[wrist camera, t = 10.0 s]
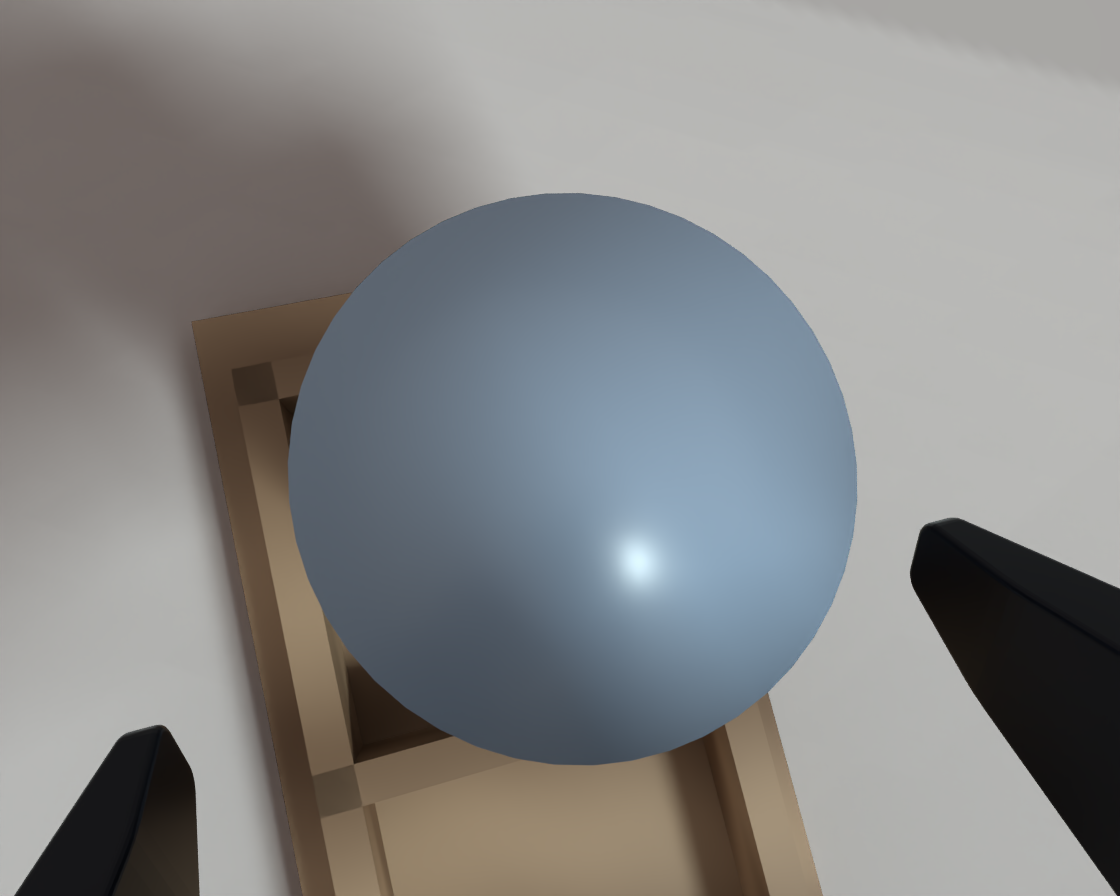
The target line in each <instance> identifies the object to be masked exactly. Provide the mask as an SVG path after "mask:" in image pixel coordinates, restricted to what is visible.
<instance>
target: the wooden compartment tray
mask: <svg viewBox="0 0 1120 896" xmlns="http://www.w3.org/2000/svg"><path fill="white" fill-rule="evenodd" d="M352 293H353V292H352ZM352 293H347V294H341V295H336V296H330V297H325V298H319V299H314V300H308V301H303V302H297V303H292V304H286V305H281V306H275V307H270V308H264V309H259V310H253V311H248V312H242V313H236V314H231V315H225V316H220V317H214V318H209V319H203V320H198V321H192V327H193V332H194V338H195V343H196V348H197V353H198V358H199V363H200V368H201V374H202V379H203V384H204V389H205V394H206V399H207V405H208V410H209V415H210V420H211V425H212V430H213V436H214V441H215V446H216V451H217V456H218V461H219V466H220V472H221V477H222V482H223V487H224V492H225V497H226V503H227V508H228V513H229V518H230V523H231V528H232V534H233V539H234V544H235V549H236V554H237V559H238V564H239V570H240V575H241V580H242V585H243V590H244V595H245V601H246V606H247V611H248V616H249V621H250V626H251V632H252V637H253V642H254V647H255V652H256V657H257V662H258V668H259V673H260V678H261V683H262V688H263V693H264V699H265V704H266V709H267V714H268V719H269V724H270V729H271V735H272V740H273V745H274V750H275V755H276V760H277V766H278V771H279V776H280V781H281V786H282V791H283V797H284V802H285V807H286V812H287V817H288V822H289V827H290V833H291V838H292V843H293V848H294V853H295V858H296V864H297V869H298V874H299V879H300V884H301V889H302V895H303V896H823V894H822V891H821V887H820V883H819V880H818V876H817V872H816V869H815V865H814V861H813V857H812V854H811V850H810V846H809V843H808V839H807V835H806V832H805V828H804V824H803V821H802V817H801V813H800V810H799V806H798V802H797V798H796V795H795V791H794V787H793V784H792V780H791V776H790V773H789V769H788V765H787V762H786V758H785V754H784V751H783V747H782V743H781V739H780V736H779V732H778V728H777V725H776V721H775V717H774V714H773V710H772V706H771V703H770V699H769V695H768V693H767V694H765V695H764V696H763V697H762V698H760V699H759V700H758V701H757V702H755V703H754V704H753V705H752V706H750V707H749V708H748V709H746V710H745V711H744V712H743V713H741V714H740V715H739V716H738V717H736V718H734V719H733V720H731V721H729V722H728V723H726V724H724V725H723V726H721V727H719V728H718V729H716V730H714V731H713V732H711V733H709V734H707V735H706V736H704V737H701V738H699V739H697V740H694V741H692V742H689V743H687V744H685V745H682V746H680V747H678V748H675V749H673V750H670V751H667V752H663V753H660V754H656V755H652V756H648V757H644V758H641V759H637V760H633V761H626V762H618V763H609V764H601V765H553V764H547V763H541V762H534V761H528V760H522V759H516V758H512V757H509V756H505V755H502V754H499V753H496V752H492V751H489V750H486V749H483V748H479V747H476V746H474V745H472V744H470V743H468V742H465V741H463V740H461V739H459V738H457V737H455V736H453V735H450V734H448V733H446V732H444V731H442V730H440V729H438V728H437V727H435V726H433V725H432V724H430V723H429V722H427V721H426V720H424V719H423V718H421V717H420V716H418V715H417V714H415V713H413V712H412V711H410V710H409V709H407V708H406V707H405V706H403V705H402V704H401V703H400V702H399V701H398V700H396V699H395V698H394V697H393V696H392V695H391V694H389V693H388V692H387V691H386V690H385V689H384V688H383V687H381V686H380V685H379V684H378V683H377V682H376V681H375V680H374V679H373V678H372V677H371V676H370V675H369V674H368V672H367V671H366V670H365V669H364V668H363V667H362V666H361V664H360V663H359V662H358V661H357V660H356V659H355V658H354V657H353V655H352V654H351V653H350V652H349V651H348V650H347V648H346V646H345V645H344V643H343V642H342V640H341V639H340V637H339V636H338V634H337V633H336V631H335V630H334V628H333V627H332V625H331V624H330V622H329V621H328V619H327V618H326V616H325V614H324V612H323V610H322V608H321V606H320V603H319V601H318V599H317V597H316V595H315V593H314V591H313V589H312V587H311V585H310V583H309V580H308V578H307V574H306V571H305V568H304V565H303V562H302V559H301V556H300V552H299V549H298V546H297V543H296V539H295V533H294V527H293V521H292V515H291V510H290V504H289V481H288V456H289V447H290V437H291V428H292V421H293V417H294V413H295V409H296V405H297V401H298V397H299V393H300V389H301V385H302V383H303V380H304V378H305V375H306V372H307V370H308V367H309V365H310V362H311V360H312V357H313V355H314V352H315V350H316V348H317V346H318V345H319V343H320V341H321V339H322V338H323V336H324V334H325V332H326V330H327V329H328V327H329V325H330V323H331V322H332V320H333V318H334V317H335V315H336V314H337V313H338V311H339V310H340V309H341V307H342V306H343V305H344V303H345V302H346V301H347V299H348V298H349V297H350V295H351V294H352Z"/></svg>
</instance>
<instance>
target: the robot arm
mask: <svg viewBox="0 0 1120 896" xmlns="http://www.w3.org/2000/svg"><path fill="white" fill-rule="evenodd" d="M910 578H911V583H912V586H913V588H914V590H915V592H916V594H917V596H918V598H919V599H920V601H921V603H922V605H923V606H924V608H925V610H926V612H927V614H928V615H929V617H930V619H931V621H932V622H933V624H934V626H935V628H936V629H937V631H938V633H939V635H940V636H941V638H942V640H943V642H944V643H945V645H946V647H947V649H948V650H949V652H950V654H951V656H952V657H953V659H954V661H955V663H956V664H957V666H958V668H959V670H960V671H961V673H962V675H963V677H964V678H965V680H966V682H967V683H968V685H969V687H970V688H971V690H972V691H973V693H974V695H975V696H976V698H977V699H978V700H979V702H980V703H981V705H982V706H983V708H984V709H985V711H986V712H987V714H988V715H989V716H990V718H991V719H992V721H993V722H994V723H995V725H996V726H997V728H998V729H999V730H1000V732H1001V733H1002V735H1003V736H1004V737H1005V739H1006V740H1007V742H1008V743H1009V744H1010V746H1011V747H1012V749H1013V750H1014V752H1015V753H1016V754H1017V756H1018V757H1019V759H1020V760H1021V761H1022V763H1023V764H1024V766H1025V767H1026V768H1027V770H1028V771H1029V773H1030V774H1031V775H1032V777H1033V778H1034V780H1035V781H1036V782H1037V784H1038V785H1039V787H1040V788H1041V789H1042V791H1043V792H1044V794H1045V795H1046V796H1047V798H1048V799H1049V801H1050V802H1051V803H1052V805H1053V806H1054V808H1055V809H1056V810H1057V812H1058V813H1059V815H1060V816H1061V818H1062V819H1063V820H1064V822H1065V823H1066V825H1067V826H1068V827H1069V829H1070V830H1071V832H1072V833H1073V834H1074V836H1075V837H1076V839H1077V840H1078V841H1079V843H1080V844H1081V846H1082V847H1083V848H1084V850H1085V851H1086V853H1087V854H1088V855H1089V857H1090V858H1091V860H1092V861H1093V862H1094V864H1095V865H1096V867H1097V868H1098V869H1099V871H1100V872H1101V874H1102V875H1103V876H1104V878H1105V879H1106V881H1107V882H1108V884H1109V885H1110V886H1111V888H1112V889H1113V891H1114V892H1115V893H1116V895H1117V896H1120V589H1119V588H1117V587H1115V586H1113V585H1110V584H1108V583H1106V582H1103V581H1101V580H1099V579H1097V578H1094V577H1092V576H1090V575H1088V574H1085V573H1083V572H1081V571H1078V570H1076V569H1074V568H1072V567H1069V566H1067V565H1065V564H1062V563H1060V562H1058V561H1056V560H1053V559H1051V558H1049V557H1047V556H1044V555H1042V554H1040V553H1037V552H1035V551H1033V550H1031V549H1028V548H1026V547H1024V546H1021V545H1019V544H1017V543H1015V542H1012V541H1010V540H1008V539H1006V538H1003V537H1001V536H999V535H996V534H994V533H992V532H990V531H987V530H985V529H983V528H980V527H978V526H976V525H974V524H971V523H969V522H967V521H965V520H962V519H959V518H947V519H943V520H939V521H935V522H931V523H928V524H926V525H924V526H923V528H922V529H921V530H920V533H919V537H918V541H917V544H916V548H915V552H914V556H913V560H912V564H911V569H910ZM14 896H200V895H199V869H198V844H197V819H196V793H195V782H194V777H193V773H192V770H191V768H190V766H189V764H188V762H187V760H186V759H185V757H184V755H183V753H182V752H181V750H180V748H179V747H178V745H177V743H176V741H175V740H174V738H173V736H172V735H171V733H170V731H169V730H168V729H167V728H166V727H165V726H163V725H155V726H151V727H147V728H143V729H139V730H136V731H132V732H128V733H126V734H124V735H123V736H121V737H120V738H119V739H118V740H117V742H116V743H115V744H114V746H113V747H112V749H111V750H110V752H109V753H108V755H107V756H106V758H105V759H104V761H103V762H102V764H101V765H100V767H99V768H98V770H97V771H96V773H95V775H94V776H93V778H92V779H91V781H90V782H89V784H88V785H87V787H86V788H85V790H84V791H83V793H82V794H81V796H80V797H79V799H78V800H77V802H76V803H75V805H74V806H73V808H72V809H71V811H70V812H69V814H68V815H67V817H66V818H65V820H64V821H63V823H62V824H61V826H60V827H59V829H58V830H57V832H56V833H55V835H54V836H53V838H52V839H51V841H50V842H49V844H48V845H47V847H46V849H45V850H44V852H43V853H42V855H41V856H40V858H39V859H38V861H37V862H36V864H35V865H34V867H33V868H32V870H31V871H30V873H29V874H28V876H27V877H26V879H25V880H24V882H23V883H22V885H21V886H20V888H19V889H18V891H17V892H16V894H15V895H14Z"/></svg>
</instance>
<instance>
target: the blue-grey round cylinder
mask: <svg viewBox="0 0 1120 896" xmlns="http://www.w3.org/2000/svg"><path fill="white" fill-rule="evenodd" d="M288 481H289V504H290V510H291V515H292V521H293V527H294V533H295V539H296V543H297V546H298V549H299V552H300V556H301V559H302V562H303V565H304V568H305V571H306V574H307V578H308V580H309V583H310V585H311V587H312V589H313V591H314V593H315V595H316V597H317V599H318V601H319V603H320V606H321V608H322V610H323V612H324V614H325V616H326V618H327V619H328V621H329V622H330V624H331V625H332V627H333V628H334V630H335V631H336V633H337V634H338V636H339V637H340V639H341V640H342V642H343V643H344V645H345V646H346V648H347V650H348V651H349V652H350V653H351V654H352V655H353V657H354V658H355V659H356V660H357V661H358V662H359V663H360V664H361V666H362V667H363V668H364V669H365V670H366V671H367V672H368V674H369V675H370V676H371V677H372V678H373V679H374V680H375V681H376V682H377V683H378V684H379V685H380V686H381V687H383V688H384V689H385V690H386V691H387V692H388V693H389V694H391V695H392V696H393V697H394V698H395V699H396V700H398V701H399V702H400V703H401V704H402V705H403V706H405V707H406V708H407V709H409V710H410V711H412V712H413V713H415V714H417V715H418V716H420V717H421V718H423V719H424V720H426V721H427V722H429V723H430V724H432V725H433V726H435V727H437V728H438V729H440V730H442V731H444V732H446V733H448V734H450V735H453V736H455V737H457V738H459V739H461V740H463V741H465V742H468V743H470V744H472V745H474V746H476V747H479V748H483V749H486V750H489V751H492V752H496V753H499V754H502V755H505V756H509V757H512V758H516V759H522V760H528V761H534V762H541V763H547V764H553V765H601V764H609V763H618V762H626V761H633V760H637V759H641V758H644V757H648V756H652V755H656V754H660V753H663V752H667V751H670V750H673V749H675V748H678V747H680V746H682V745H685V744H687V743H689V742H692V741H694V740H697V739H699V738H701V737H704V736H706V735H707V734H709V733H711V732H713V731H714V730H716V729H718V728H719V727H721V726H723V725H724V724H726V723H728V722H729V721H731V720H733V719H734V718H736V717H738V716H739V715H740V714H741V713H743V712H744V711H745V710H746V709H748V708H749V707H750V706H752V705H753V704H754V703H755V702H757V701H758V700H759V699H760V698H762V697H763V696H764V695H765V694H767V693H768V692H769V691H770V689H771V688H772V687H773V686H774V685H775V684H776V683H777V682H778V681H779V680H780V679H781V678H782V677H783V676H784V675H785V674H786V673H787V672H788V671H789V670H790V669H791V668H792V666H793V665H794V664H795V662H796V661H797V660H798V658H799V657H800V655H801V654H802V653H803V651H804V650H805V649H806V647H807V646H808V644H809V643H810V642H811V640H812V639H813V638H814V636H815V634H816V632H817V630H818V629H819V627H820V625H821V623H822V621H823V619H824V618H825V616H826V614H827V612H828V610H829V608H830V607H831V605H832V602H833V599H834V597H835V594H836V592H837V589H838V586H839V584H840V581H841V579H842V576H843V573H844V571H845V567H846V563H847V558H848V554H849V550H850V546H851V542H852V538H853V531H854V523H855V514H856V505H857V464H856V457H855V450H854V442H853V435H852V428H851V425H850V421H849V417H848V413H847V409H846V406H845V402H844V398H843V395H842V392H841V390H840V387H839V384H838V382H837V379H836V377H835V374H834V372H833V369H832V367H831V364H830V362H829V360H828V358H827V356H826V355H825V353H824V351H823V349H822V347H821V345H820V344H819V342H818V340H817V338H816V336H815V334H814V333H813V331H812V329H811V328H810V327H809V325H808V324H807V322H806V321H805V320H804V318H803V317H802V315H801V314H800V312H799V311H798V310H797V308H796V307H795V305H794V304H793V303H792V302H791V300H790V299H789V298H788V297H787V296H786V295H785V294H784V293H783V292H782V290H781V289H780V288H779V287H778V286H777V285H776V284H775V283H774V282H773V281H772V279H771V278H770V277H769V276H768V275H767V274H765V273H764V272H763V271H762V270H761V269H760V268H758V267H757V266H756V265H755V264H754V263H753V262H752V261H750V260H749V259H748V258H747V257H746V256H745V255H744V254H742V253H741V252H739V251H738V250H736V249H735V248H734V247H732V246H731V245H729V244H728V243H726V242H725V241H723V240H722V239H720V238H719V237H717V236H716V235H714V234H713V233H711V232H709V231H707V230H705V229H703V228H701V227H699V226H697V225H695V224H693V223H692V222H690V221H688V220H686V219H684V218H682V217H679V216H676V215H674V214H671V213H668V212H666V211H663V210H660V209H658V208H655V207H652V206H650V205H645V204H641V203H637V202H633V201H629V200H625V199H621V198H616V197H609V196H600V195H591V194H582V193H562V194H539V195H532V196H525V197H517V198H510V199H506V200H503V201H499V202H495V203H492V204H488V205H484V206H480V207H477V208H474V209H472V210H469V211H467V212H464V213H462V214H459V215H457V216H455V217H452V218H450V219H447V220H445V221H443V222H441V223H439V224H437V225H436V226H434V227H432V228H430V229H429V230H427V231H425V232H423V233H422V234H420V235H418V236H416V237H415V238H413V239H411V240H410V241H409V242H407V243H406V244H405V245H403V246H402V247H401V248H400V249H398V250H397V251H396V252H394V253H393V254H392V255H390V256H389V257H388V258H387V259H385V260H384V261H383V262H382V263H381V264H380V265H379V266H378V267H377V268H376V269H375V270H374V271H373V272H372V273H371V274H370V275H369V276H368V277H367V278H366V279H365V280H364V281H363V282H362V283H361V284H360V285H359V286H358V287H357V288H356V289H355V290H354V292H353V293H352V294H351V295H350V297H349V298H348V299H347V301H346V302H345V303H344V305H343V306H342V307H341V309H340V310H339V311H338V313H337V314H336V315H335V317H334V318H333V320H332V322H331V323H330V325H329V327H328V329H327V330H326V332H325V334H324V336H323V338H322V339H321V341H320V343H319V345H318V346H317V348H316V350H315V352H314V355H313V357H312V360H311V362H310V365H309V367H308V370H307V372H306V375H305V378H304V380H303V383H302V385H301V389H300V393H299V397H298V401H297V405H296V409H295V413H294V417H293V421H292V428H291V437H290V447H289V456H288Z"/></svg>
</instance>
